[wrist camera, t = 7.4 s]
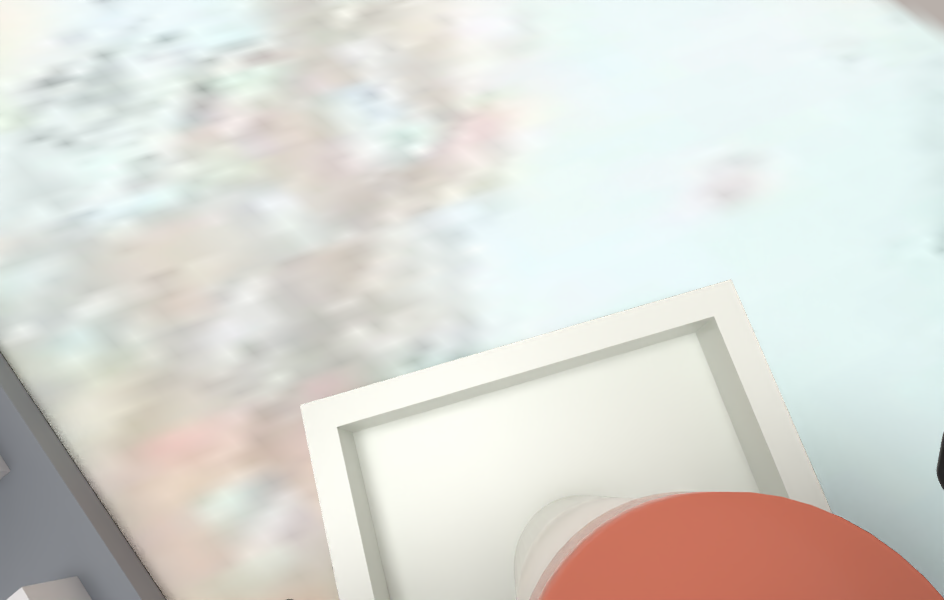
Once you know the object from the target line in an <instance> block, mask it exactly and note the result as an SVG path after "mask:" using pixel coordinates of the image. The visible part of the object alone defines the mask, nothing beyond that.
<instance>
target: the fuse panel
mask: <svg viewBox="0 0 944 600" xmlns="http://www.w3.org/2000/svg"><path fill="white" fill-rule="evenodd" d="M0 600H166V599H165V598H164V596H163V595H162V593H161V592H160V590H159V589H158V587H157V586H156V584H155V583H154V581H153V580H152V578H151V577H150V575H149V574H148V572H147V571H146V569H145V568H144V566H143V565H142V563H141V562H140V560H139V559H138V557H137V556H136V554H135V553H134V551H133V550H132V548H131V547H130V545H129V544H128V542H127V541H126V539H125V538H124V536H123V535H122V533H121V532H120V530H119V529H118V527H117V526H116V524H115V523H114V521H113V520H112V518H111V517H110V515H109V514H108V512H107V511H106V509H105V508H104V507H103V505H102V504H101V502H100V501H99V499H98V498H97V496H96V495H95V493H94V492H93V490H92V489H91V487H90V486H89V484H88V483H87V481H86V480H85V478H84V477H83V475H82V474H81V472H80V471H79V469H78V468H77V466H76V465H75V463H74V462H73V460H72V459H71V457H70V456H69V454H68V453H67V451H66V450H65V448H64V447H63V445H62V444H61V442H60V441H59V439H58V438H57V436H56V435H55V433H54V432H53V430H52V429H51V427H50V426H49V424H48V423H47V421H46V420H45V418H44V417H43V415H42V414H41V412H40V411H39V409H38V408H37V406H36V405H35V403H34V402H33V400H32V399H31V397H30V396H29V394H28V393H27V391H26V390H25V388H24V387H23V385H22V384H21V382H20V381H19V379H18V378H17V376H16V375H15V373H14V372H13V370H12V369H11V367H10V366H9V364H8V363H7V361H6V360H5V358H4V357H3V355H2V354H1V352H0Z"/></svg>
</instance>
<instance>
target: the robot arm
mask: <svg viewBox="0 0 944 600" xmlns="http://www.w3.org/2000/svg"><path fill="white" fill-rule="evenodd" d="M937 477H938V480H939V482H940V484H941V486H942V488H943V489H944V433H943V436H942V442H941V447H940V453H939V458H938V464H937ZM287 600H293V599H287Z"/></svg>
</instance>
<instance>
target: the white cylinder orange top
mask: <svg viewBox="0 0 944 600" xmlns="http://www.w3.org/2000/svg"><path fill="white" fill-rule="evenodd" d="M514 579H515V593H516V600H944V598H943V597H942V596H941V595H940V594H939V593H938V591H937V590H936V589H935V588H934V587H933V586H932V585H931V584H930V582H929V581H928V580H927V579H926V578H925V577H924V576H923V575H922V574H921V573H919V572H918V571H917V570H916V569H915V568H914V567H913V566H912V565H911V564H909V563H908V562H907V561H906V560H905V559H904V558H903V557H902V556H901V555H899V554H898V553H897V552H895V551H894V550H893V549H891V548H890V547H888V546H887V545H886V544H884V543H883V542H882V541H880V540H879V539H877V538H876V537H875V536H873V535H872V534H870V533H868V532H867V531H865V530H863V529H861V528H860V527H858V526H856V525H854V524H852V523H851V522H849V521H847V520H845V519H844V518H842V517H839V516H837V515H834V514H832V513H830V512H827V511H825V510H822V509H820V508H818V507H815V506H813V505H810V504H806V503H803V502H799V501H795V500H792V499H788V498H785V497H781V496H774V495H767V494H760V493H753V492H670V493H662V494H654V495H650V496H646V497H643V498H623V497H605V496H587V495H576V496H568V497H564V498H561V499H558V500H555V501H553V502H551V503H549V504H548V505H546V506H544V507H543V508H542V509H540V510H539V511H538V512H537V513H536V514H535V515H534V516H533V517H532V518H531V519H530V520H529V522H528V523H527V525H526V526H525V528H524V530H523V531H522V533H521V535H520V538H519V540H518V543H517V547H516V551H515V558H514Z"/></svg>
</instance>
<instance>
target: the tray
mask: <svg viewBox="0 0 944 600" xmlns="http://www.w3.org/2000/svg"><path fill="white" fill-rule="evenodd" d="M300 408H301V413H302V418H303V423H304V428H305V433H306V438H307V443H308V447H309V452H310V457H311V462H312V467H313V472H314V477H315V482H316V487H317V492H318V497H319V502H320V507H321V512H322V517H323V522H324V526H325V531H326V536H327V541H328V546H329V551H330V556H331V561H332V566H333V571H334V576H335V581H336V586H337V591H338V596H339V600H516V593H515V579H514V558H515V551H516V547H517V543H518V540H519V538H520V535H521V533H522V531H523V530H524V528H525V526H526V525H527V523H528V522H529V520H530V519H531V518H532V517H533V516H534V515H535V514H536V513H537V512H538V511H539V510H540V509H542V508H543V507H544V506H546V505H548V504H549V503H551V502H553V501H555V500H558V499H561V498H564V497H568V496H576V495H587V496H605V497H623V498H643V497H646V496H650V495H654V494H662V493H670V492H753V493H760V494H767V495H774V496H781V497H785V498H788V499H792V500H795V501H799V502H803V503H806V504H810V505H813V506H815V507H818V508H820V509H822V510H825V511H827V512H830V513H832V511H831V509H830V506H829V504H828V502H827V499H826V497H825V495H824V493H823V490H822V488H821V486H820V483H819V481H818V479H817V476H816V474H815V472H814V469H813V467H812V465H811V462H810V460H809V458H808V456H807V453H806V451H805V449H804V446H803V444H802V442H801V439H800V437H799V435H798V432H797V430H796V428H795V425H794V423H793V421H792V419H791V416H790V414H789V412H788V409H787V407H786V405H785V402H784V400H783V398H782V395H781V393H780V391H779V388H778V386H777V384H776V382H775V379H774V377H773V375H772V372H771V370H770V368H769V365H768V363H767V361H766V358H765V356H764V354H763V351H762V349H761V347H760V345H759V342H758V340H757V338H756V335H755V333H754V331H753V328H752V326H751V324H750V321H749V319H748V317H747V314H746V312H745V310H744V308H743V305H742V303H741V301H740V298H739V296H738V294H737V291H736V289H735V287H734V284H733V282H732V280H727V281H724V282H720V283H717V284H714V285H710V286H707V287H703V288H700V289H696V290H693V291H690V292H686V293H683V294H679V295H676V296H672V297H669V298H666V299H662V300H659V301H655V302H652V303H648V304H645V305H642V306H638V307H635V308H631V309H628V310H624V311H621V312H618V313H614V314H611V315H607V316H604V317H600V318H597V319H594V320H590V321H587V322H583V323H580V324H576V325H573V326H570V327H566V328H563V329H559V330H556V331H552V332H549V333H546V334H542V335H539V336H535V337H532V338H528V339H525V340H522V341H518V342H515V343H511V344H508V345H504V346H501V347H498V348H494V349H491V350H487V351H484V352H480V353H477V354H474V355H470V356H467V357H463V358H460V359H456V360H453V361H450V362H446V363H443V364H439V365H436V366H432V367H429V368H426V369H422V370H419V371H415V372H412V373H408V374H405V375H402V376H398V377H395V378H391V379H388V380H384V381H381V382H378V383H374V384H371V385H367V386H364V387H360V388H357V389H354V390H350V391H347V392H343V393H340V394H336V395H333V396H330V397H326V398H323V399H319V400H316V401H312V402H309V403H306V404H302V405H300ZM832 514H833V513H832Z"/></svg>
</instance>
